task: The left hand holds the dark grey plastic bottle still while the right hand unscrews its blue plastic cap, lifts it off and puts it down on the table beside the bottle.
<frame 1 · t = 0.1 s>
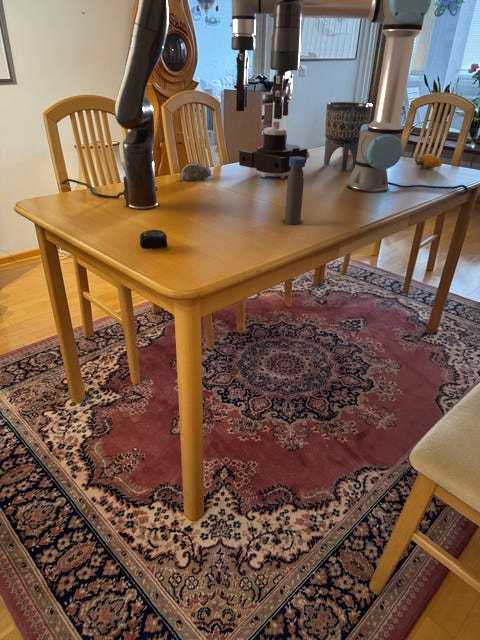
left hand: (281, 117, 125), 29 cm above the table, tool pointing down, fingers open, 8 cm apart
right hand: (241, 109, 155), 28 cm above the table, tool pointing down, fingers open, 13 cm apart
toy: (426, 167, 214), on the table
bottle: (292, 222, 139), on the table
figurine: (350, 154, 239), on the table
cap: (297, 158, 129), point 19 cm above the table, screwed on, not yet turned
mechanical component: (280, 173, 196), on the table
rock: (197, 179, 184), on the table
planter: (341, 167, 211), on the table
tape measure: (155, 248, 118), on the table
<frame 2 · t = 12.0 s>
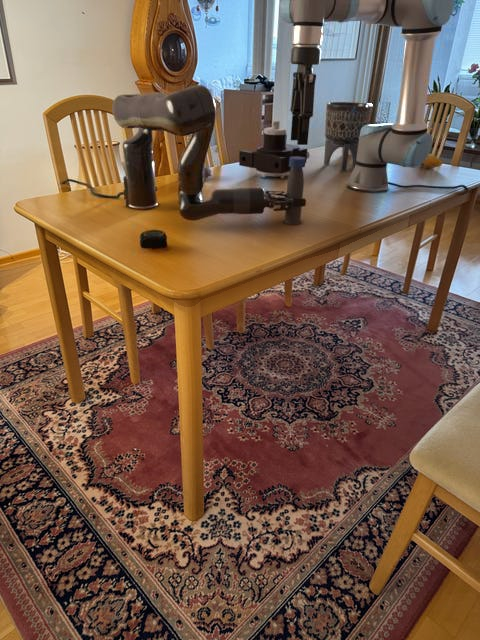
left hand: (302, 199, 136), 7 cm above the table, tool horizontal, fingers closed on bottle, 4 cm apart
right hand: (298, 142, 127), 23 cm above the table, tool pointing down, fingers open, 7 cm apart
bottle: (292, 222, 139), on the table, touching left hand
everything else where it was.
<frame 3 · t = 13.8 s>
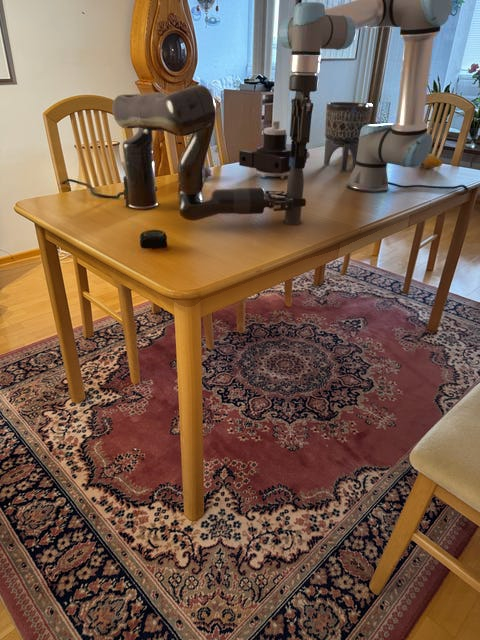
left hand: (302, 199, 136), 7 cm above the table, tool horizontal, fingers closed on bottle, 4 cm apart
right hand: (296, 166, 130), 17 cm above the table, tool pointing down, fingers closed on cap, 4 cm apart
bottle: (292, 222, 139), on the table, touching left hand
cap: (297, 158, 129), point 19 cm above the table, screwed on, not yet turned, touching right hand
everything else where it was.
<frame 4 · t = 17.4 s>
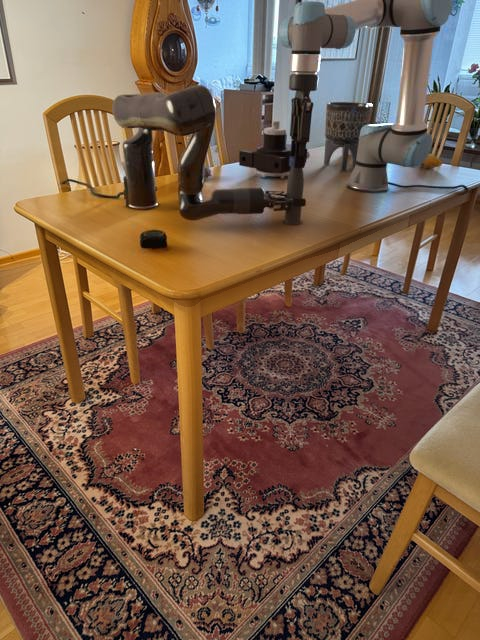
left hand: (302, 199, 136), 7 cm above the table, tool horizontal, fingers closed on bottle, 4 cm apart
right hand: (296, 165, 130), 17 cm above the table, tool pointing down, fingers closed on cap, 4 cm apart
bottle: (292, 222, 139), on the table, touching left hand
cap: (297, 158, 129), point 19 cm above the table, turned 127° so far, risen 0.2 cm, still on its thread, touching right hand
everything else where it was.
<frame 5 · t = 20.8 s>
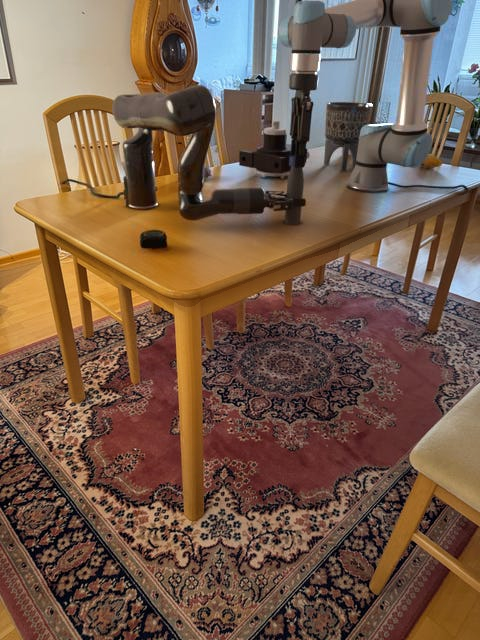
left hand: (302, 199, 136), 7 cm above the table, tool horizontal, fingers closed on bottle, 4 cm apart
right hand: (296, 165, 130), 17 cm above the table, tool pointing down, fingers closed on cap, 4 cm apart
bottle: (292, 222, 139), on the table, touching left hand
cap: (297, 157, 129), point 19 cm above the table, turned 255° so far, risen 0.3 cm, still on its thread, touching right hand
everything else where it was.
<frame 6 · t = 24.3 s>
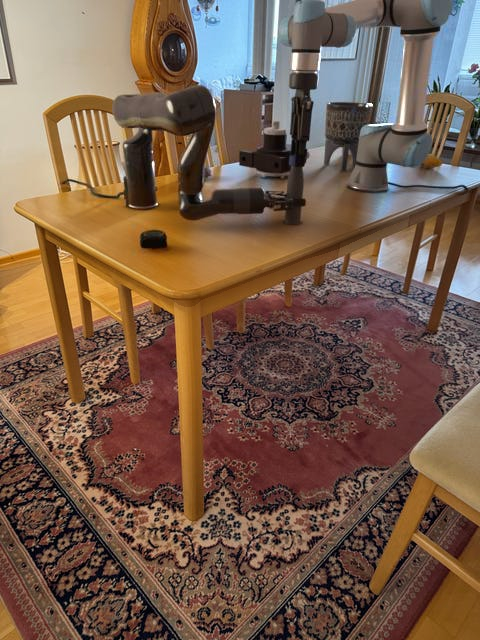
left hand: (302, 199, 136), 7 cm above the table, tool horizontal, fingers closed on bottle, 4 cm apart
right hand: (296, 164, 130), 17 cm above the table, tool pointing down, fingers closed on cap, 4 cm apart
bottle: (292, 222, 139), on the table, touching left hand
cap: (297, 157, 129), point 19 cm above the table, turned 382° so far, risen 0.5 cm, still on its thread, touching right hand
everything else where it was.
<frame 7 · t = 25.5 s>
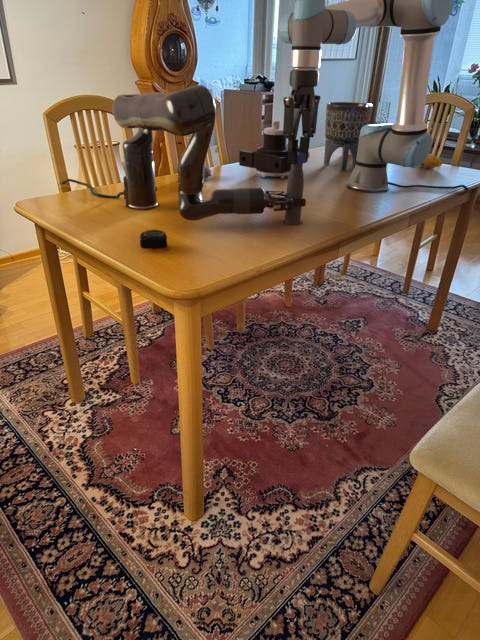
left hand: (302, 199, 136), 7 cm above the table, tool horizontal, fingers closed on bottle, 4 cm apart
right hand: (297, 162, 130), 18 cm above the table, tool pointing down, fingers closed on cap, 4 cm apart
bottle: (292, 222, 139), on the table, touching left hand
cap: (298, 154, 129), point 20 cm above the table, off its thread, touching right hand
everything else where it was.
when the right hand's fingers open (1 cm above the table, at t = 31.6 s): cap stays where it is, point 2 cm above the table.
when the left hand's fingers open (7 cm above the table, at t = 32.9 s): bottle stays where it is, on the table.
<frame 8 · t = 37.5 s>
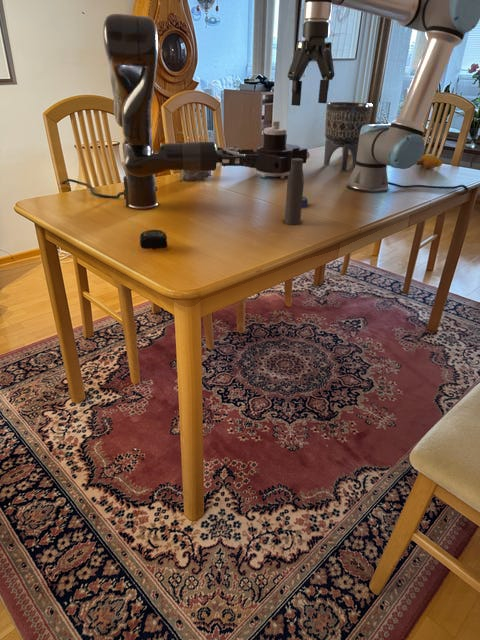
left hand: (256, 156, 127), 19 cm above the table, tool horizontal, fingers open, 8 cm apart
right hand: (309, 104, 139), 31 cm above the table, tool pointing down, fingers open, 13 cm apart
bottle: (292, 222, 139), on the table
cap: (300, 199, 154), point 2 cm above the table, off its thread
everything else where it was.
at the end: cap came off its thread; cap point 2.0 cm above the table; the left hand is holding nothing; the right hand is holding nothing; bottle tilted 0°; bottle moved 0.0 cm from its start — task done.
